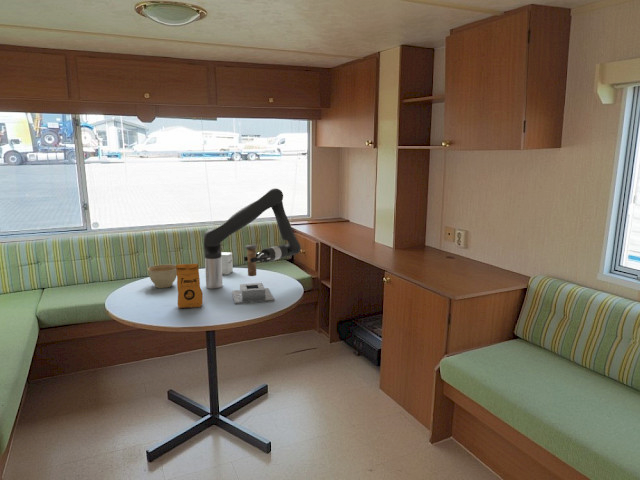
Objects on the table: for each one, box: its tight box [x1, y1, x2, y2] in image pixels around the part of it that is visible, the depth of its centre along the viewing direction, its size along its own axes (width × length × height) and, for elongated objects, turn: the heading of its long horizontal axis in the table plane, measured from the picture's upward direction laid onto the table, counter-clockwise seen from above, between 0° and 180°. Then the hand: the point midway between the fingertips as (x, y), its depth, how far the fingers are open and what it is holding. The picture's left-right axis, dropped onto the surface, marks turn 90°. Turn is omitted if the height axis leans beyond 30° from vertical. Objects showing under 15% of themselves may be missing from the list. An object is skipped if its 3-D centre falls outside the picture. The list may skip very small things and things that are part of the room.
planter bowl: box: [147, 263, 177, 289], centre depth 261 cm, size 16×16×11 cm
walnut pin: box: [245, 244, 258, 277], centre depth 240 cm, size 6×6×16 cm
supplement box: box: [221, 251, 234, 275], centre depth 289 cm, size 7×7×13 cm
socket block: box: [231, 282, 275, 305], centre depth 244 cm, size 20×20×6 cm
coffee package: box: [175, 263, 204, 309], centre depth 227 cm, size 10×12×22 cm
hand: (247, 259), depth 238 cm, fingers closed on walnut pin, 4 cm apart
